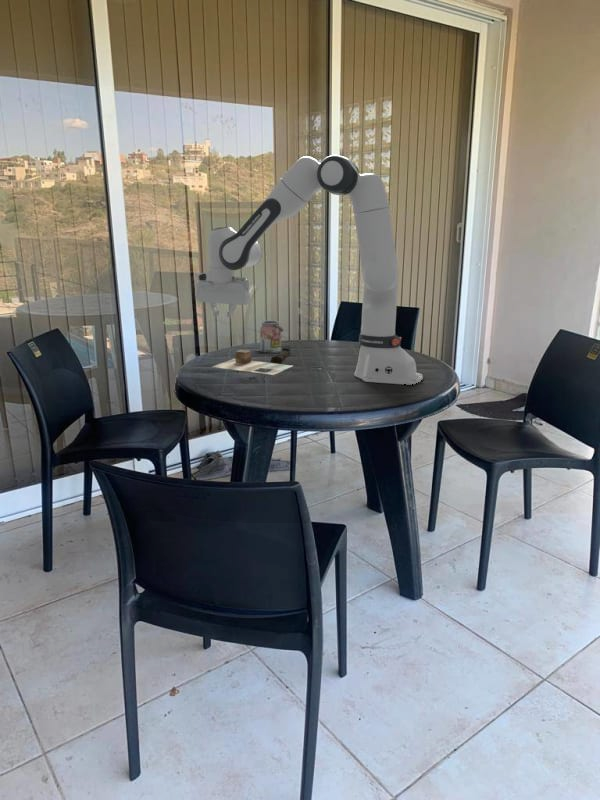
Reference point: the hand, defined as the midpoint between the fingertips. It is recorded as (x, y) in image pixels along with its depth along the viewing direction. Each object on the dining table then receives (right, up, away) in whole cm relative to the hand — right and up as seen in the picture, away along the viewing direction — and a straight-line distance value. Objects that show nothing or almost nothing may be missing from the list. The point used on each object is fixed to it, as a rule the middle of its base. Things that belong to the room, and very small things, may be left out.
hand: (223, 316), depth 202 cm
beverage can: (+16, -10, +27) cm, 33 cm away
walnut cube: (+7, -16, +1) cm, 18 cm away
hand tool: (+20, -15, +11) cm, 28 cm away
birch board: (+11, -19, -4) cm, 22 cm away
